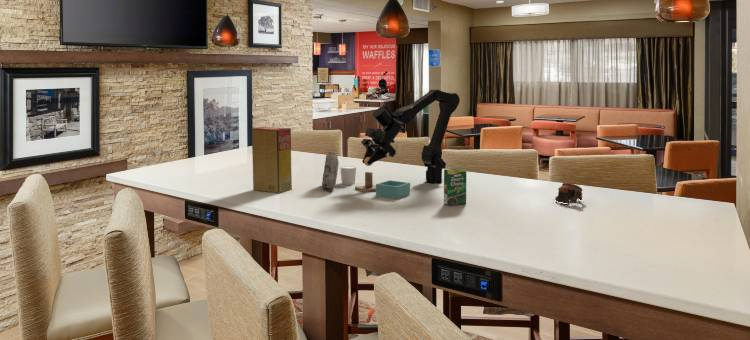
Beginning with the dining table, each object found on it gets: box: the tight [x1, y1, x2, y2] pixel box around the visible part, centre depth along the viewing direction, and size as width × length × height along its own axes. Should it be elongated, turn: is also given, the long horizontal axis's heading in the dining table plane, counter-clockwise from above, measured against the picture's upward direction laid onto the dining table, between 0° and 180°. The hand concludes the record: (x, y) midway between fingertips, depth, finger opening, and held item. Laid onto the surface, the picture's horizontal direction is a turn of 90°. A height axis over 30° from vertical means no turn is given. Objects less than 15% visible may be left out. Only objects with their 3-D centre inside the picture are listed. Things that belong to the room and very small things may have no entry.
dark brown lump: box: [554, 182, 583, 204], centre depth 210 cm, size 12×10×8 cm
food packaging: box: [251, 126, 293, 194], centre depth 230 cm, size 13×9×25 cm
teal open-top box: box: [375, 179, 411, 200], centre depth 222 cm, size 10×10×4 cm
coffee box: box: [443, 167, 467, 207], centre depth 206 cm, size 8×3×13 cm, turn 111°
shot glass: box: [339, 165, 357, 186], centre depth 245 cm, size 7×7×7 cm
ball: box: [363, 157, 374, 167], centre depth 230 cm, size 4×4×4 cm
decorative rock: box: [321, 151, 339, 190], centre depth 234 cm, size 16×7×15 cm, turn 0°
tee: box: [354, 171, 376, 193], centre depth 232 cm, size 8×8×7 cm
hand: (365, 163), depth 230 cm, fingers closed on ball, 4 cm apart
